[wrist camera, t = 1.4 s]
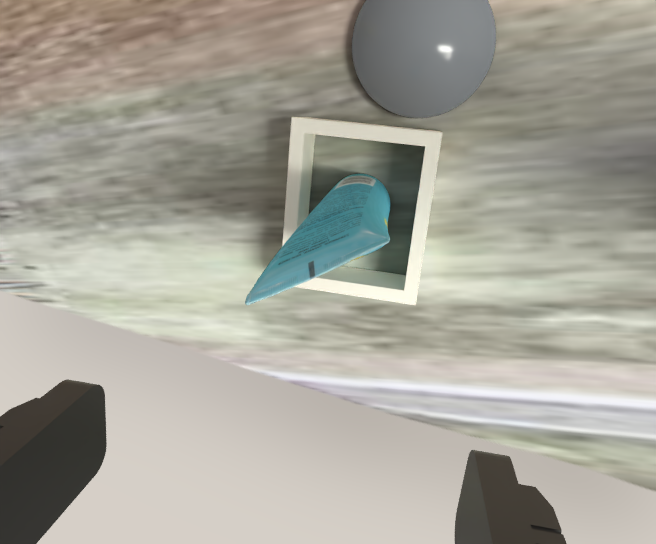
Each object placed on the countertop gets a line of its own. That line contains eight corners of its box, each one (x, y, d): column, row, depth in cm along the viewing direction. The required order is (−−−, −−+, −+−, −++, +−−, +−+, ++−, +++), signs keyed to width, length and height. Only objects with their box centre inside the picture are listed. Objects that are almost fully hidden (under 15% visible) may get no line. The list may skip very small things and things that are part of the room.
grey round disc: (507, -28, 36) (509, -31, 35) (480, 124, 39) (481, 124, 38) (361, -37, 37) (360, -40, 36) (346, 111, 40) (344, 110, 39)
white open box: (441, 131, 39) (442, 132, 35) (416, 288, 43) (415, 305, 39) (304, 116, 41) (291, 117, 37) (292, 270, 44) (279, 284, 41)
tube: (337, 251, 43) (273, 349, 25) (306, 200, 42) (217, 263, 24) (417, 206, 41) (410, 278, 23) (386, 152, 40) (354, 181, 22)
